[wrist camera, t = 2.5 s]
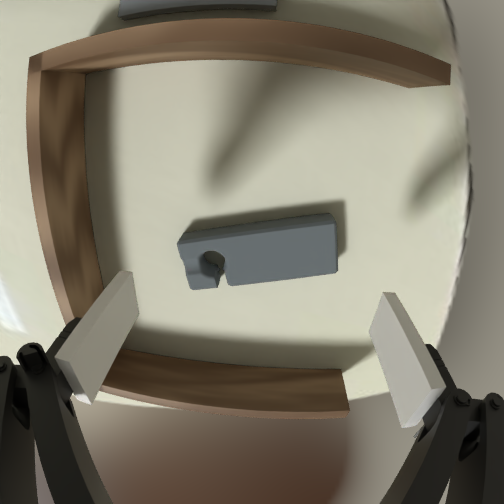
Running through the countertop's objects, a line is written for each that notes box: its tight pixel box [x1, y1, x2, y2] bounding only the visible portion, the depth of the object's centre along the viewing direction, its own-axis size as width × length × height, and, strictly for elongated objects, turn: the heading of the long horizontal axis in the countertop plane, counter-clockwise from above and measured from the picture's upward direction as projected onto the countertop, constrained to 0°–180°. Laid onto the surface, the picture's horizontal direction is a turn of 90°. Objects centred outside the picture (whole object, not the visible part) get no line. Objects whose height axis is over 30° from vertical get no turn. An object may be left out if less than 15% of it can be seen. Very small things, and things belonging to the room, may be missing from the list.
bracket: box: [177, 213, 338, 290], centre depth 20 cm, size 4×10×2 cm, turn 100°
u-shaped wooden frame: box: [26, 18, 451, 419], centre depth 18 cm, size 27×23×5 cm
